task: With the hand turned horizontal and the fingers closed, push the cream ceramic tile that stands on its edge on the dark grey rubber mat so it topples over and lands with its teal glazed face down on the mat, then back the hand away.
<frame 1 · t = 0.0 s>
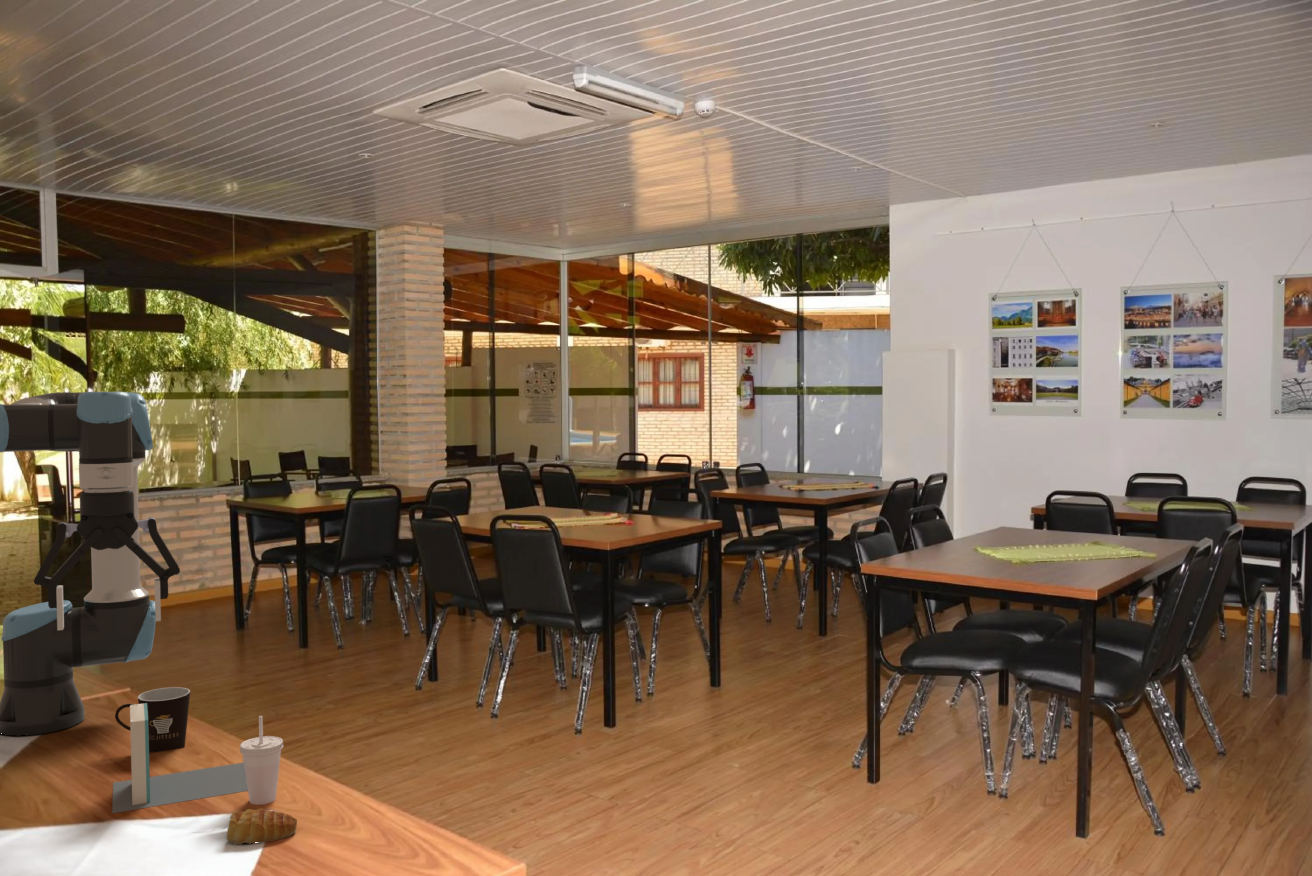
hand: (110, 624, 164), 28 cm above the table, tool pointing down, fingers open, 13 cm apart
tile: (140, 792, 166), point 1 cm above the table, touching mat
coffee mug: (157, 749, 189), on the table
smoothie: (262, 804, 163), on the table
mat: (182, 789, 169), on the table
pastry: (258, 837, 151), on the table
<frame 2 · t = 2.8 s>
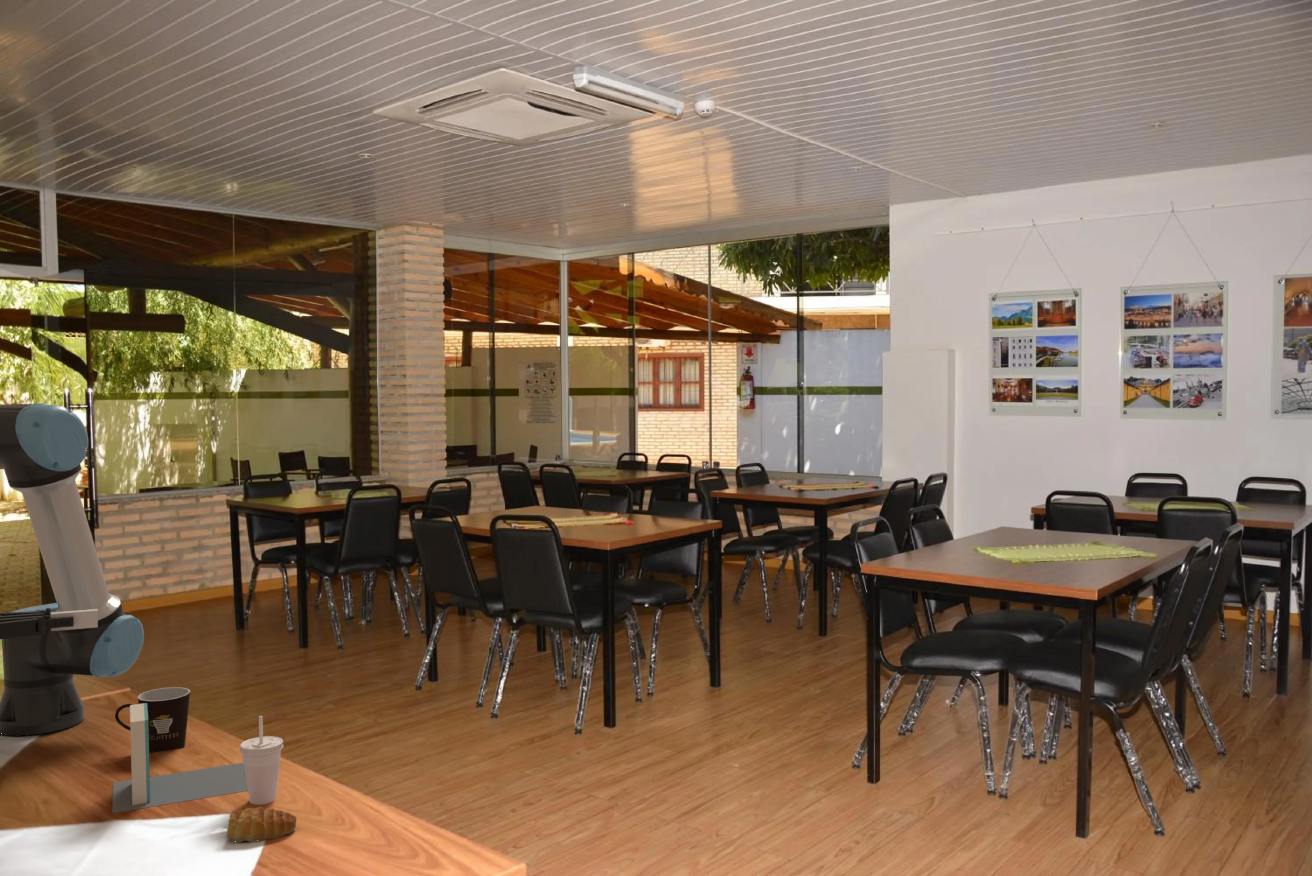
hand: (97, 618, 167), 28 cm above the table, tool horizontal, fingers closed
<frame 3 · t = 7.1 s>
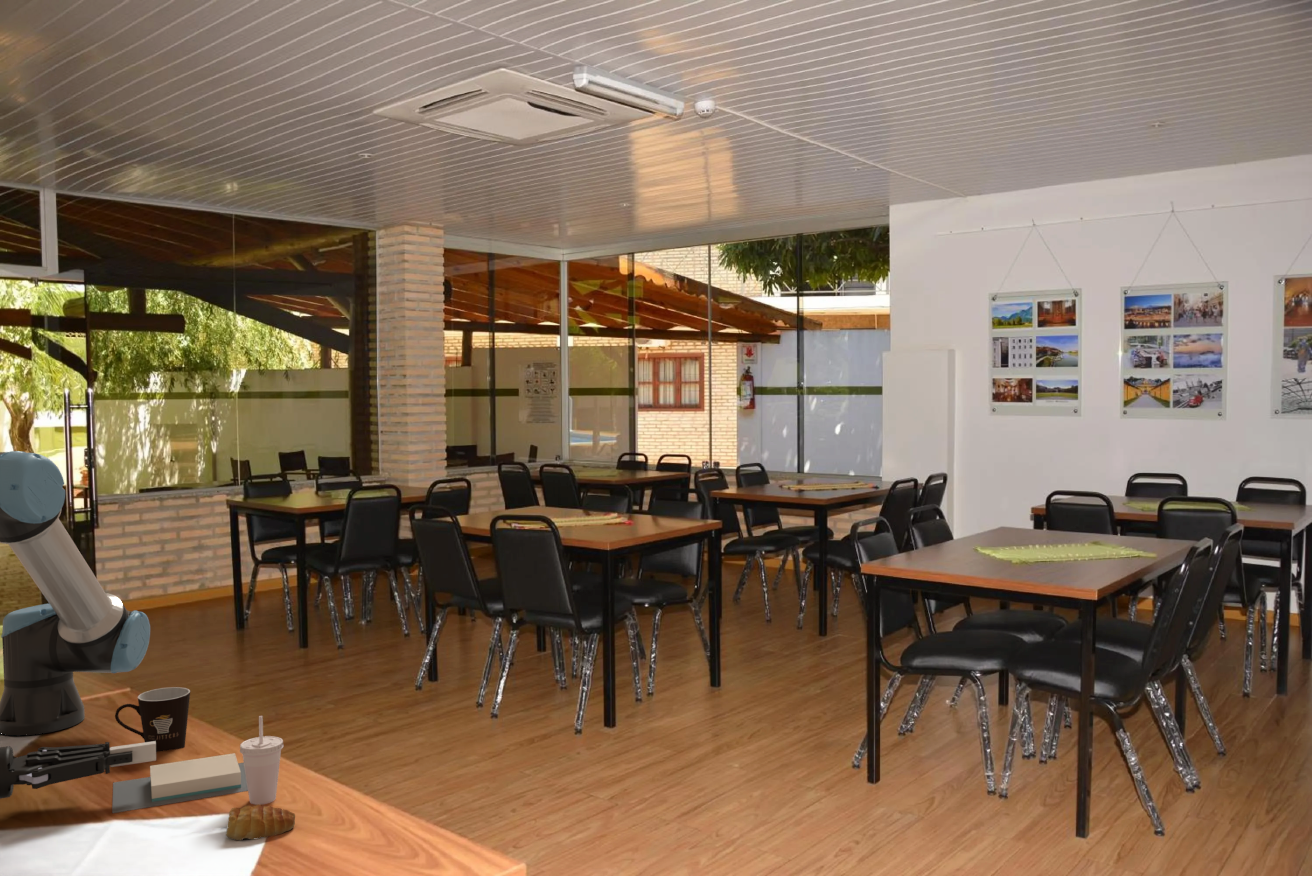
hand: (155, 750, 166), 7 cm above the table, tool horizontal, fingers closed
tile: (150, 783, 167), point 2 cm above the table, tilted 90°, touching mat
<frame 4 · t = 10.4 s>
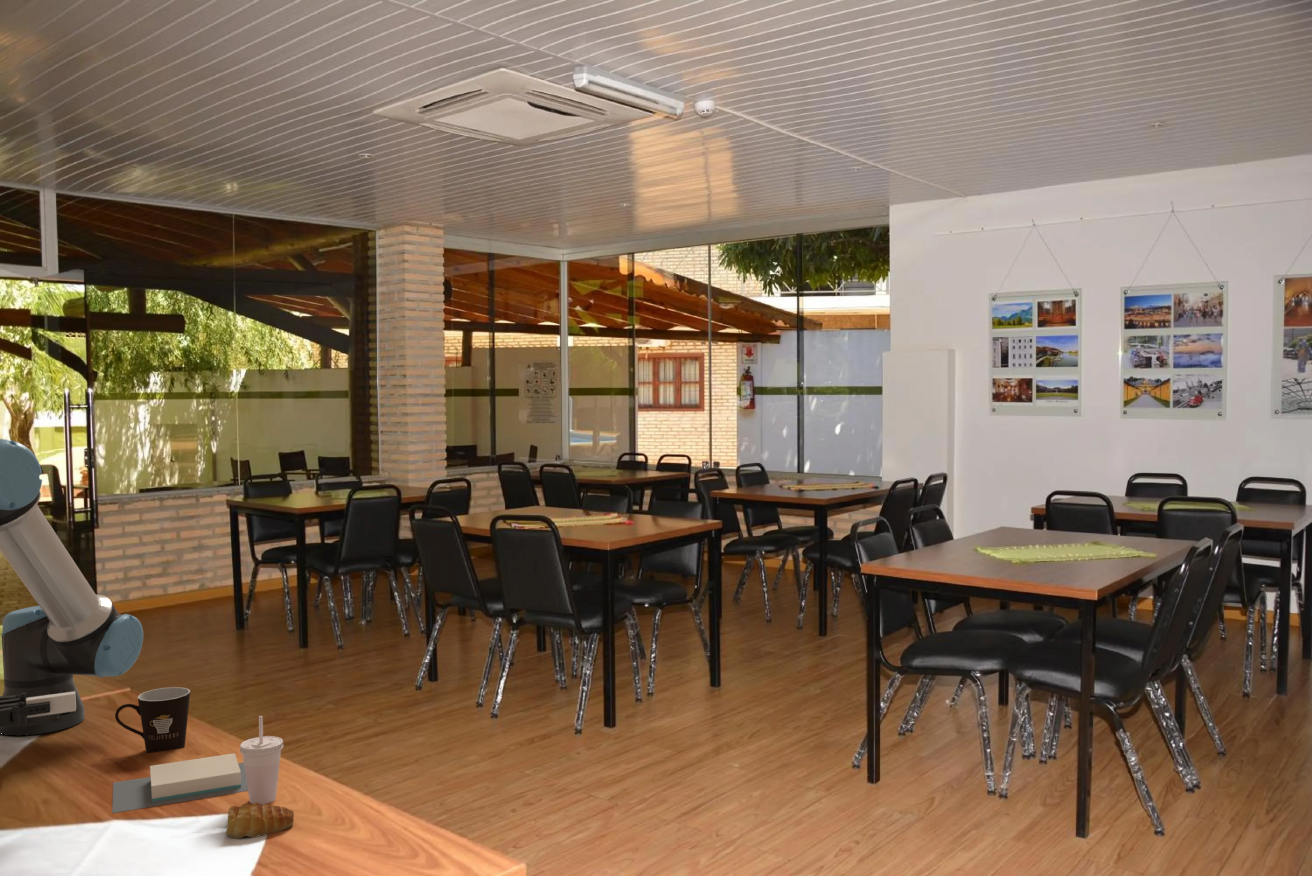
hand: (75, 701, 162), 17 cm above the table, tool horizontal, fingers closed
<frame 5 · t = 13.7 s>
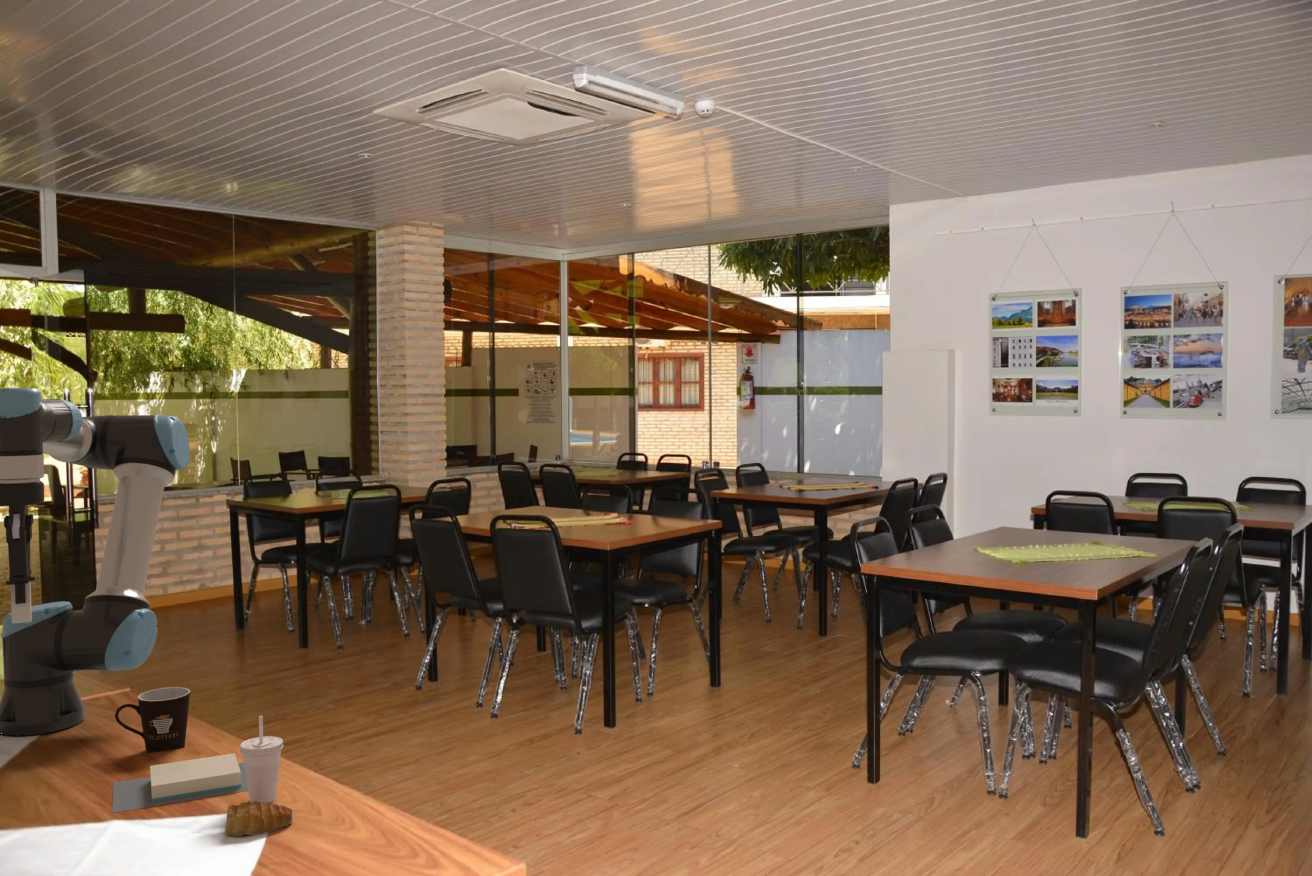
hand: (21, 621, 173), 26 cm above the table, tool pointing down, fingers closed
at the end: tile tilted 90°; tile inside the target area on the mat (5.5 cm from its centre), point 1.8 cm above the mat's base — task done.
